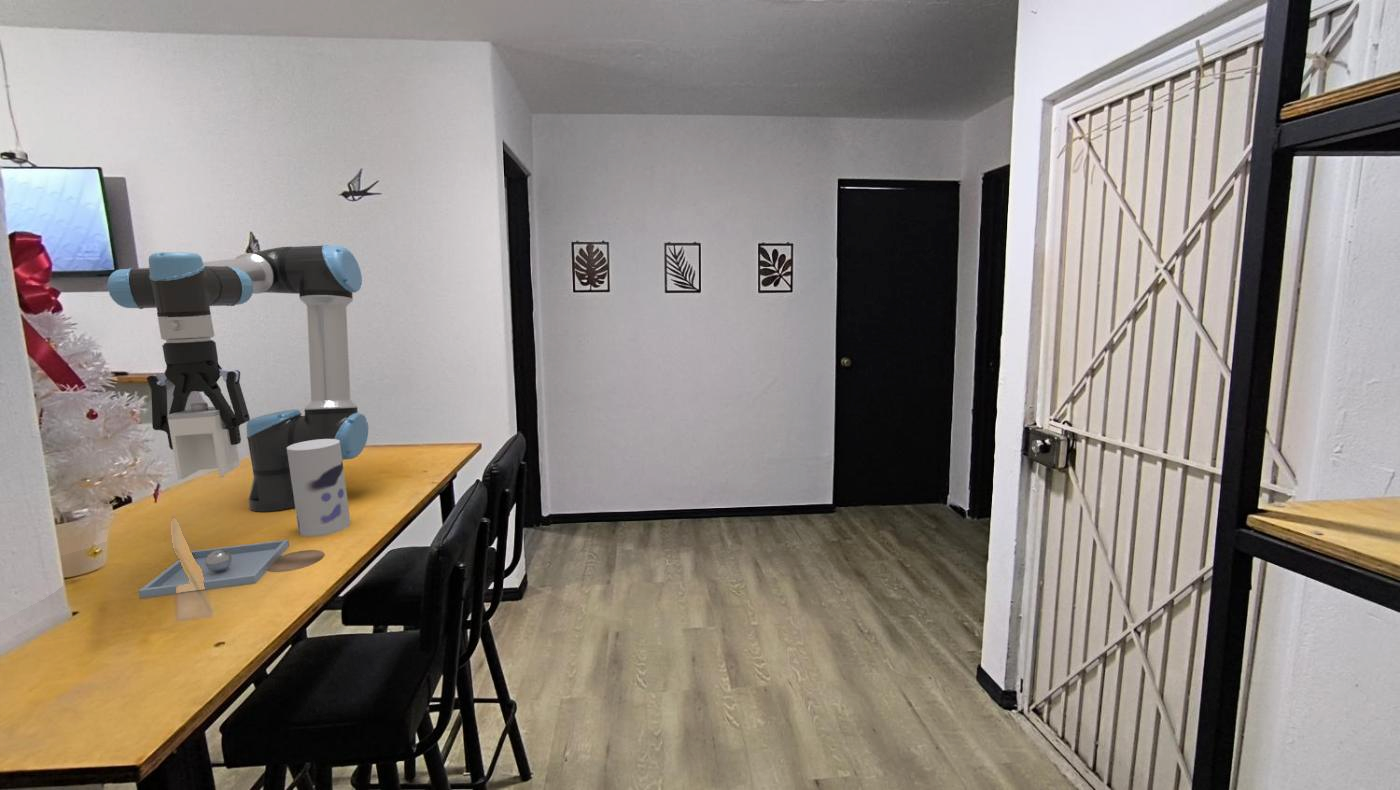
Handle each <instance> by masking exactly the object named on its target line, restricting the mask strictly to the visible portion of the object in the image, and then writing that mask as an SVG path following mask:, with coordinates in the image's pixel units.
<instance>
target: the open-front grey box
mask: <svg viewBox="0 0 1400 790" xmlns="http://www.w3.org/2000/svg"><path fill="white" fill-rule="evenodd" d="M229 406H230V407H231V408H232V405H229ZM167 418H168V424H169V429H170V435H171V441H172V446H173V450H172V451H173V457H174V463H175V469H176V474H177V479H178V480H183V479H185V478H188V477H189V476H191V475H193V474H196V473H197V472H199V471H202V470H204V471H205V470H213V469H214V470H215V469H217V470H218V477H223V476H225V475H228V474H229V473H230V472H232V471H234V470H235V469H238V468H239V467H240V466H241V464H240V463H241V462H240V456H239V450H238V448H237V453H238V459H239V460H237V461H236V462H234V463H232V464H227V457H226V451H225V445H224V439H223V433H222V429H225V427H227V426H226V425H225V423H224V422H223V420H222V418H221V417H220V412H219V410H216V409H215V407H214V406H208V403H207V402H196V403H192V404H190V407H189V408H185V410H184V411H181V412H178V413H172V414H169V413H168V415H167ZM236 446H237V447H238V444H237V445H236Z"/></svg>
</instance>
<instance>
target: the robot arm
mask: <svg viewBox="0 0 1400 790" xmlns="http://www.w3.org/2000/svg"><path fill="white" fill-rule="evenodd" d="M362 276H363V275H362V271H361V268H360V265H359V263H358V261H357V259H356V257H355V256H354V254H353V252H351V251H350V250H349V249H348V248H346V247H344V246H342V245H327V244H324V245H308V246H307V245H304V246H301V245H300V246H281V247H280V246H279V247H275V248H268V249H264V250H259V251H258V250H257V251H255V252H254V251H253V252H246V253H241V254H239V255H237V256H236V257H235V258H233V259H232V258H231V259H221V260H212V261H211V260H210V261H203V258H202V256H201V255H200V254H199V253H197V252H180V251H179V252H178V251H175V252H174V251H173V252H170V251H169V252H168V251H167V252H154V253H151V254H150V255H149V257H148V267H140V268H136V267H130V268H124V269H123V268H121V269H116V270H115V271H113V272H112V273H111V274H110V276H109V277H108V279H107V289H108V292H109V296H110V298H111V300H113V302H114V303H116V304H117V305H119V306H120V307H122V308H124V309H126V308H127V309H139V310H143V309H156V315H157V321H158V322H157V323H158V326H159V333H160V339H162V341H163V340H164V341H165V342H164V343H163V344H162V351H163V353H162V354H163V357H164V362H165V365H166V369H165V371H164V373H160V374H153V375H149V376H147V377H146V381H147V383H148V385H149V388H150V391H151V417H152V418H151V420H152V421H151V422H152V423H151V424H152V429H153V430H154V431H161V432H165V433H166V434H167V440H168V447H169V449H170V450H172V451H173V446H172V441H171V435H170V429H169V424H168V418H167V415H169V414H172V413H178V412H181V411H184V410H185V409H186V406H187V403H188V400H189V396H190V395H191V393H192V392H201V393H204V396H205V397H208V399H209V400H210V402H211V404H212V405H213V406H212V407H215V409H216V410H219V412H220V417H221V418H222V420H223V422H224V423H225V425H226V426H227V427H225V429H222V433H223V439H224V445H225V451H226V457H227V464H232V463H234V462H236V461H237V460H239V461H240V458H239V459H238V455H239V452H238V453H237V449H238V445H239V444H241V441H242V438H241V432H240V426H241V425H242V424H245V423H246V439H247V443H248V450H249V455H250V456H249V457H250V462H251V467H252V474H253V479H252V485H251V488H250V494H249V498H248V505H249V509H250V510H251V511H254V512H264V513H266V512H277V511H284V510H288V509H289V510H290V509H295V502H294V495H293V488H292V482H291V475H290V468H289V461H288V454H287V447H288V446H290V445H292V444H296V443H299V442H304V441H310V440H318V439H337V440H339V441H340V446H341V454H342V461H344V460H345V461H346V460H353V459H355V458H357V457H358V456H359V455H361V453H362V452H363V450H364V448H366V445H367V441H368V437H369V424H368V421H367V420H368V419H367V417H366V416H365V415H364V414H362V413H360V412H358V405H357V404H355V402H353V401H352V400H351V385H350V381H351V379H350V365H349V364H350V363H349V362H350V361H349V340H348V339H349V338H348V319H347V317H348V316H347V307H348V306H349V305H350V304H351V303H352V302H353V300H354V299H353V294H355V293H358V291H360V290H361V286H362V283H363V277H362ZM264 293H265V294H266V293H270V294H271V293H273V294H296V295H297V294H298V295H299V300H300V301H301V302H303V304H305V305H306V314H307V315H306V316H307V335H308V338H307V339H308V357H309V358H308V359H309V361H308V362H309V378H310V380H309V381H310V382H309V383H310V403H308V404H307V405H306V406H305V407H304V415H302V412H301V410H300V409H288V410H287V409H286V410H282V411H276V412H273V413H267V414H263V415H259V416H255V417H253V418H250V413H249V411H248V407H247V404H246V400H245V397H244V393H243V391H242V387H241V386H242V385H241V384H240V379H241V372H240V370H238V369H235V370H228V369H223V367H221V366H220V364H219V358H218V357H219V356H218V350H217V345H216V341H215V340H213V339H212V338H214V337H215V331H214V326H213V320H212V314H211V313H212V312H211V309H210V308H211V307H221V306H222V307H223V306H224V307H225V306H226V307H234V306H236V305H237V306H238V305H243V304H245V303H247V302H248V301H249V300H250V299H251V297H252V296H253V295H254V294H255V295H256V294H264ZM221 377H222V381H224V382H225V384H226V390H227V393H228V398H229V399H230V403H231V405H230V404H229V402H228V401H227V400H226V397H225V396H224V395H223V393H222V389H221V387H220V385H219V384H218V381H219V379H220V378H221ZM168 380H169V381H170V382H171V383H172V384H173V385H174V388H173V393H172V396H173V398H172V400H171V405H170V408H169V411H168V389H167V384H168V382H169V381H168ZM230 406H231V407H230ZM236 445H237V446H236Z"/></svg>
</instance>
